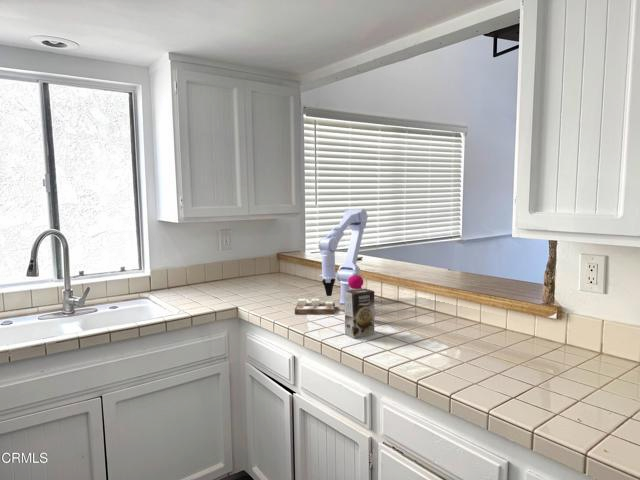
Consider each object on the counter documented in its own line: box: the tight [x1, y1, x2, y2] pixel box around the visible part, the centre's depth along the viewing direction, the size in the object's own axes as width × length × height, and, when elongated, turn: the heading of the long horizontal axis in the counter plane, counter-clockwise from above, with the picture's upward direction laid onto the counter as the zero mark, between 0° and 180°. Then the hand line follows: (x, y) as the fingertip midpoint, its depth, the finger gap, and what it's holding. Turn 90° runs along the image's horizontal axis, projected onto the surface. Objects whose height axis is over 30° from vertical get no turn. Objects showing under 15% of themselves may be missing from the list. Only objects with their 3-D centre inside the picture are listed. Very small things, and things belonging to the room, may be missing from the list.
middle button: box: [311, 298, 320, 306], centre depth 196 cm, size 3×3×3 cm
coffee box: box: [344, 288, 375, 339], centre depth 161 cm, size 9×6×16 cm
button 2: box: [324, 301, 334, 306], centre depth 196 cm, size 3×3×3 cm
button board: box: [294, 302, 336, 315], centre depth 195 cm, size 17×12×2 cm
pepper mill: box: [348, 272, 364, 290], centre depth 178 cm, size 7×7×20 cm
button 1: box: [297, 298, 307, 306], centre depth 197 cm, size 3×3×3 cm
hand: (329, 295), depth 196 cm, fingers closed
